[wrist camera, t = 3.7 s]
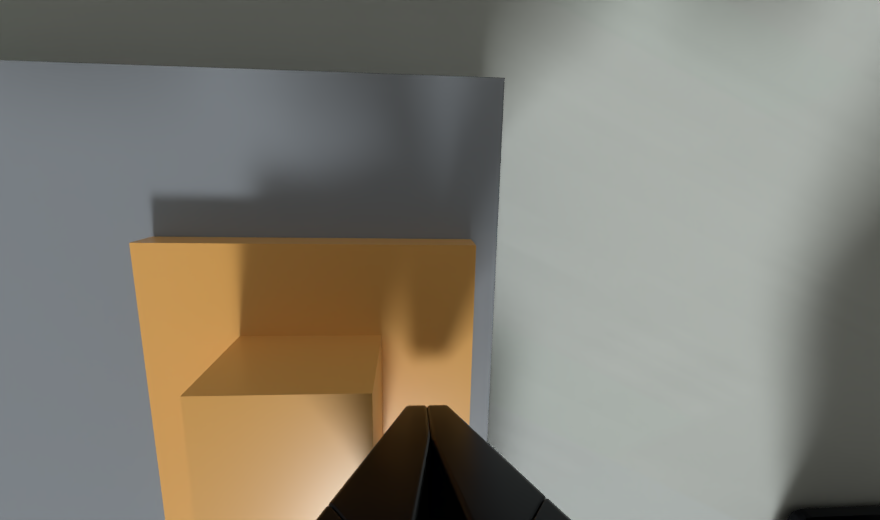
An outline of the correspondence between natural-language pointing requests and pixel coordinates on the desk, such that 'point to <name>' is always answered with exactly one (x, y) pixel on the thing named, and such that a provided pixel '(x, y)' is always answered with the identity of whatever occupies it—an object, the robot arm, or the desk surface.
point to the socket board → (198, 232)
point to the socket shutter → (293, 361)
